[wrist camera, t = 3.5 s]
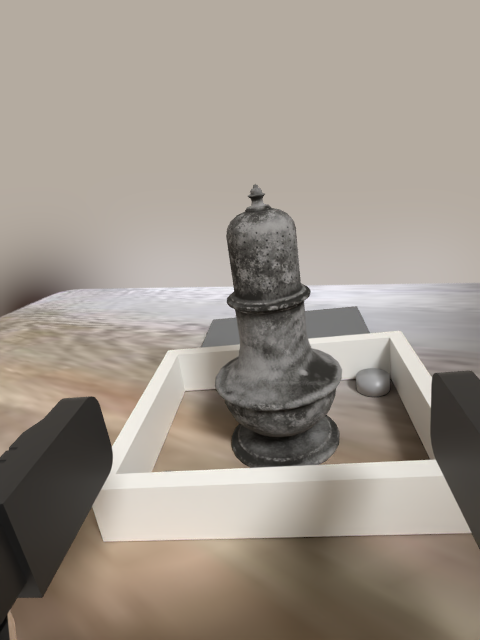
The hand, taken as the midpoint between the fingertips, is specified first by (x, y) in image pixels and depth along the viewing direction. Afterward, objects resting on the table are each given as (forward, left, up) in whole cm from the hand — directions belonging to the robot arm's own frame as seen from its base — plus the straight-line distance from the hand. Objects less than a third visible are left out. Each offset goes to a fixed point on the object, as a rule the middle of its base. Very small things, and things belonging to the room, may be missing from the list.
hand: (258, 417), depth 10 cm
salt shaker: (0, -9, -7) cm, 12 cm away
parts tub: (0, -9, -7) cm, 12 cm away
